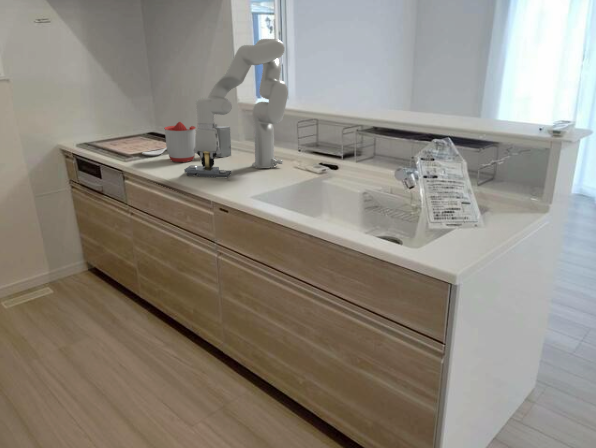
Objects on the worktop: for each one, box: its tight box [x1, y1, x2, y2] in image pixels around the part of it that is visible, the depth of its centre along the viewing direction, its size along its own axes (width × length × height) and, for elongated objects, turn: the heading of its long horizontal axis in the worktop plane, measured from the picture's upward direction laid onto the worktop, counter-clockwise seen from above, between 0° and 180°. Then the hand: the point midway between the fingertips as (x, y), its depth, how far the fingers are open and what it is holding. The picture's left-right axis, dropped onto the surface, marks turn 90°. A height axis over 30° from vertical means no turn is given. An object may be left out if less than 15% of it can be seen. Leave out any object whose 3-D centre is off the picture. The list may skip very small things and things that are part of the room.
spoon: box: [141, 146, 167, 157], centre depth 273 cm, size 9×32×4 cm, turn 138°
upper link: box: [183, 164, 220, 177], centre depth 228 cm, size 14×8×4 cm, turn 81°
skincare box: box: [214, 125, 232, 158], centre depth 265 cm, size 8×7×16 cm
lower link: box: [196, 169, 232, 178], centre depth 228 cm, size 14×8×2 cm, turn 81°
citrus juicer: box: [164, 121, 196, 163], centre depth 253 cm, size 16×17×20 cm
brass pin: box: [203, 151, 211, 170], centre depth 226 cm, size 4×4×10 cm
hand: (207, 165), depth 227 cm, fingers closed on brass pin, 3 cm apart
